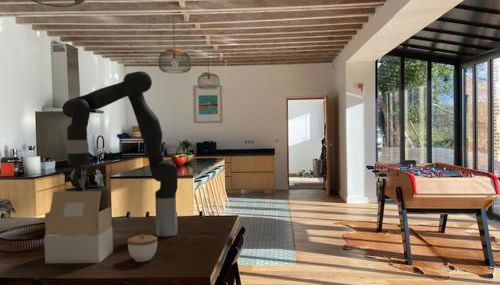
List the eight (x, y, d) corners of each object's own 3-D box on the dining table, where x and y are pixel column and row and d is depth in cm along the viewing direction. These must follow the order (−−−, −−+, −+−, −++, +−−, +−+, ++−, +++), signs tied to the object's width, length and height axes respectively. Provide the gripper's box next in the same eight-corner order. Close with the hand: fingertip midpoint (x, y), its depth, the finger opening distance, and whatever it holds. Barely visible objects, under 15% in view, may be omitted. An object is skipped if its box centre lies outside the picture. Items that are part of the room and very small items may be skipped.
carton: (113, 251, 168) (112, 206, 167) (99, 262, 153) (97, 213, 153) (64, 251, 169) (62, 206, 168) (45, 263, 154) (43, 214, 154)
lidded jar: (133, 255, 162) (132, 230, 162) (160, 254, 162) (160, 230, 162) (124, 264, 152) (123, 238, 151) (153, 263, 151) (152, 237, 151)
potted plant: (79, 220, 227) (77, 146, 226) (117, 221, 224) (115, 146, 223) (56, 230, 207) (54, 148, 205) (98, 230, 204) (95, 147, 202)
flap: (101, 191, 159) (100, 191, 158) (95, 234, 153) (94, 234, 152) (54, 192, 160) (53, 191, 159) (46, 234, 154) (45, 234, 153)
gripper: (79, 153, 154) (82, 200, 155) (94, 150, 167) (96, 193, 168) (59, 153, 154) (62, 200, 155) (76, 150, 167) (78, 194, 168)
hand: (80, 196), depth 161 cm, fingers closed
